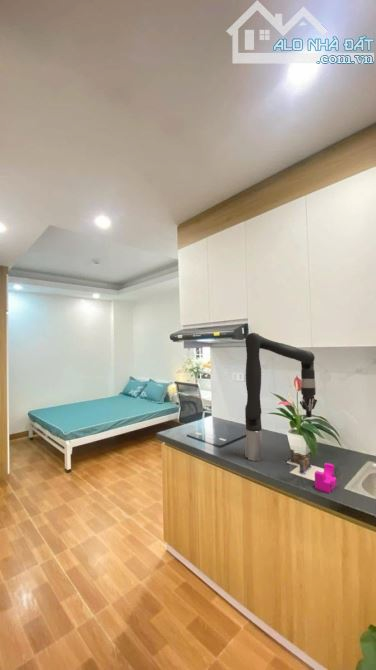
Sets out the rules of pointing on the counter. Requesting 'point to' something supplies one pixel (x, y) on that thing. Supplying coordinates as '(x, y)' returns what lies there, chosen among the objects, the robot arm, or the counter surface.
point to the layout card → (307, 473)
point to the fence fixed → (299, 457)
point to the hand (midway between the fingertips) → (308, 417)
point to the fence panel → (304, 465)
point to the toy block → (325, 479)
